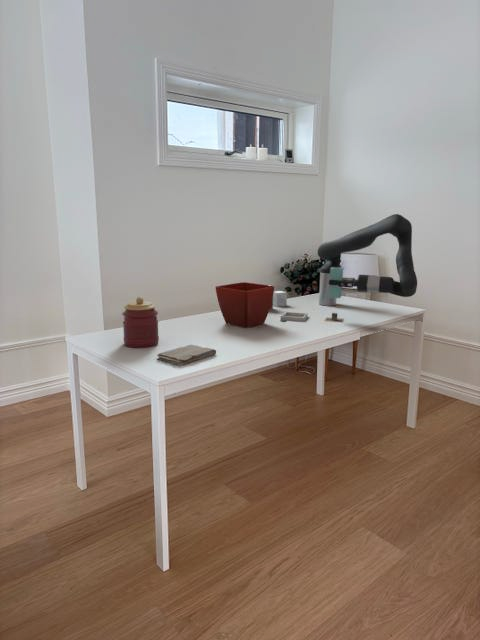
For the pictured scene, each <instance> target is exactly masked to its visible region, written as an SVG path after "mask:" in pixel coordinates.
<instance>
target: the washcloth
mask: <svg viewBox="0 0 480 640" xmlns="http://www.w3.org/2000/svg"><path fill="white" fill-rule="evenodd" d="M216 354H217V350H216V349H214V348H209V347H203V346H199V345H196V344H195V345H194V344H188V345H185V346H180V347H176V348H173V349H169V350H166V351H163V352H159V353H157V359H156V360H157V361H161V362H163V363H167V364H170V365H173V366H177V367H182V366H185V365H189V364H192V363H195V362H199V361H202V360H205V359H207V358H211V357H214V356H215V355H216Z"/></svg>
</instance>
